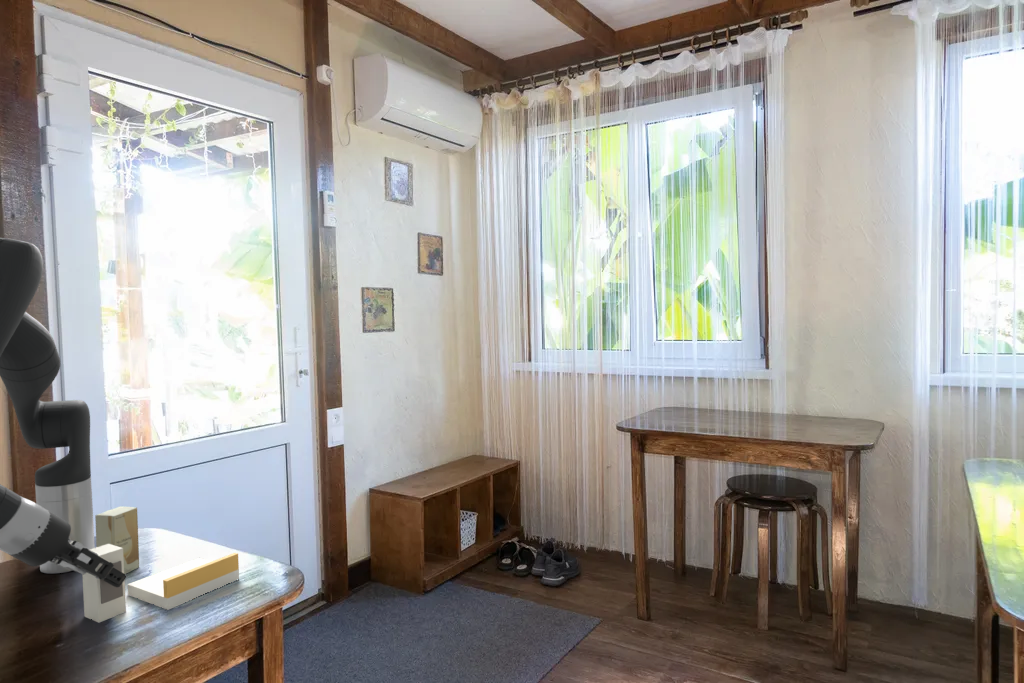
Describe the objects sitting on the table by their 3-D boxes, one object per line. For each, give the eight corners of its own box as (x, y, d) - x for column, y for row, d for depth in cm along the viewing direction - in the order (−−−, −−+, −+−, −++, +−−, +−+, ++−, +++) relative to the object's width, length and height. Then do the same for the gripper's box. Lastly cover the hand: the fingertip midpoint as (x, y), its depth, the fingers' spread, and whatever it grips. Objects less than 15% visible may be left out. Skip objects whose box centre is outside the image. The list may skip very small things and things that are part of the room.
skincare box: (115, 579, 124) (112, 516, 123) (96, 578, 125) (93, 515, 124) (141, 566, 130) (138, 506, 130) (122, 565, 131) (119, 505, 130)
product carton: (84, 616, 109) (81, 552, 109) (111, 606, 113) (108, 543, 112) (99, 623, 107) (96, 557, 106) (126, 612, 111) (123, 548, 110)
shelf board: (128, 595, 117) (126, 567, 117) (199, 567, 129) (198, 542, 129) (167, 610, 111) (166, 581, 111) (239, 579, 123) (238, 553, 123)
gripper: (68, 515, 98) (147, 563, 109) (22, 502, 105) (100, 548, 116) (29, 562, 94) (115, 607, 104) (-15, 545, 101) (69, 589, 112)
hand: (107, 576), depth 110 cm, fingers open, 8 cm apart
